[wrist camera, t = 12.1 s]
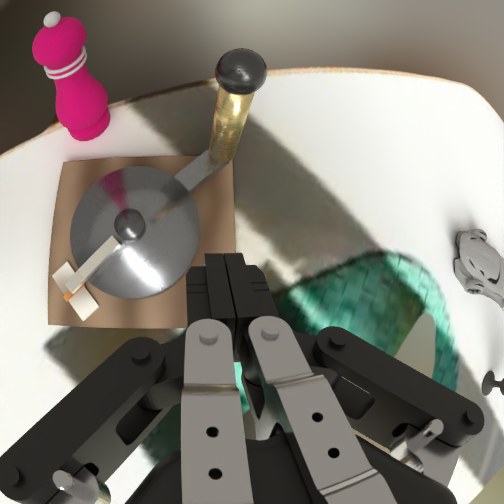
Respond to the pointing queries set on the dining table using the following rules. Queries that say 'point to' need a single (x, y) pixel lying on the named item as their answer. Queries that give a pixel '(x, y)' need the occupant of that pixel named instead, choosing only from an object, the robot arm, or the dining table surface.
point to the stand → (111, 307)
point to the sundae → (491, 383)
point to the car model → (479, 266)
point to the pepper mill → (71, 77)
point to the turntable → (159, 202)
